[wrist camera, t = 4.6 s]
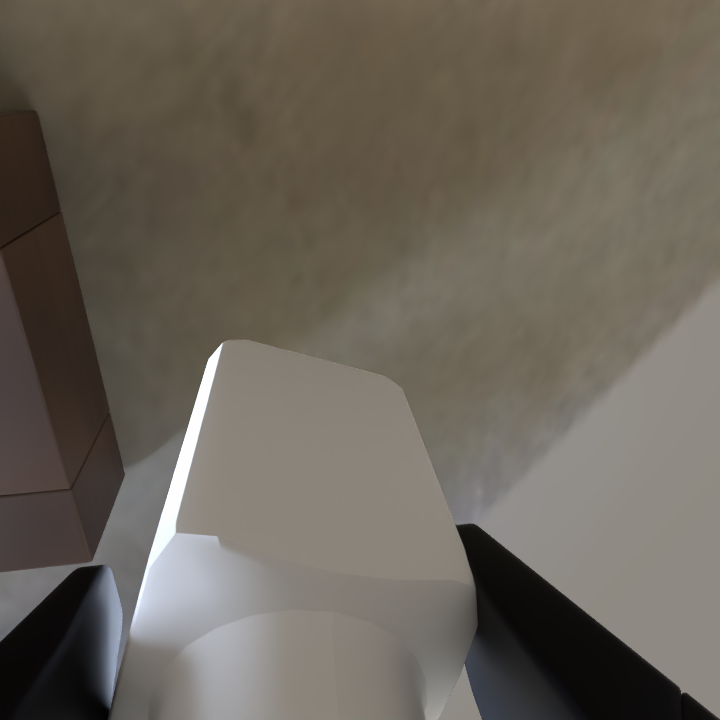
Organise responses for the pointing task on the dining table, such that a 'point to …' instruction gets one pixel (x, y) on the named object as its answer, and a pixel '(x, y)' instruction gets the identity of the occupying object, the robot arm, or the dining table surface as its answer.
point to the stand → (46, 374)
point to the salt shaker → (299, 556)
